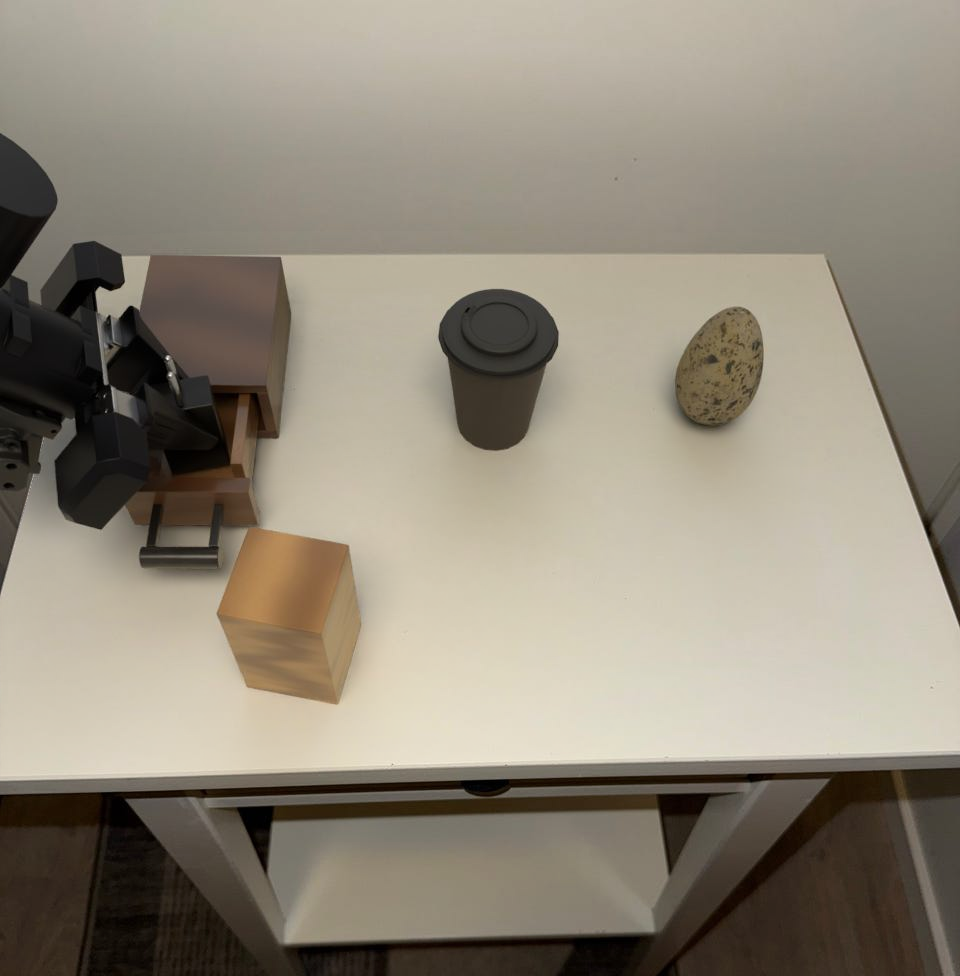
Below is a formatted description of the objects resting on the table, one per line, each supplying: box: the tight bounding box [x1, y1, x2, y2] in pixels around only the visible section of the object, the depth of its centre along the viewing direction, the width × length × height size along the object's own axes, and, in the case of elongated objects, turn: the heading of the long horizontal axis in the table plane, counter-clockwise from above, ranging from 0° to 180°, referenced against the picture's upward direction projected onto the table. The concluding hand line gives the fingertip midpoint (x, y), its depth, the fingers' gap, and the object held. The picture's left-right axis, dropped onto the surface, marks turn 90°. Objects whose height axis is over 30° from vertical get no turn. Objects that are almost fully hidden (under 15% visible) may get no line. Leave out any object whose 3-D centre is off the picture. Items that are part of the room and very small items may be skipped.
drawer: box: [124, 393, 260, 569], centre depth 67 cm, size 16×8×4 cm, turn 1°
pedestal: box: [216, 526, 362, 705], centre depth 60 cm, size 6×6×10 cm
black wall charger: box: [149, 355, 230, 474], centre depth 64 cm, size 4×3×9 cm, turn 105°
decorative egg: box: [674, 306, 765, 427], centre depth 70 cm, size 6×6×10 cm
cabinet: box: [128, 254, 292, 439], centre depth 72 cm, size 13×10×6 cm
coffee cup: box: [437, 288, 560, 451], centre depth 69 cm, size 8×8×10 cm
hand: (211, 426), depth 66 cm, fingers closed on black wall charger, 2 cm apart
